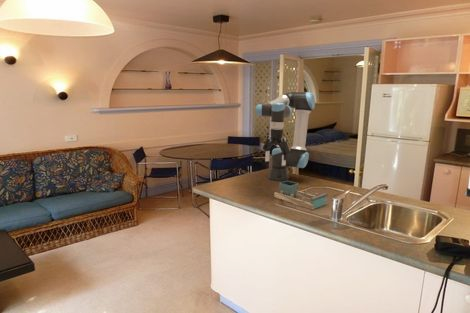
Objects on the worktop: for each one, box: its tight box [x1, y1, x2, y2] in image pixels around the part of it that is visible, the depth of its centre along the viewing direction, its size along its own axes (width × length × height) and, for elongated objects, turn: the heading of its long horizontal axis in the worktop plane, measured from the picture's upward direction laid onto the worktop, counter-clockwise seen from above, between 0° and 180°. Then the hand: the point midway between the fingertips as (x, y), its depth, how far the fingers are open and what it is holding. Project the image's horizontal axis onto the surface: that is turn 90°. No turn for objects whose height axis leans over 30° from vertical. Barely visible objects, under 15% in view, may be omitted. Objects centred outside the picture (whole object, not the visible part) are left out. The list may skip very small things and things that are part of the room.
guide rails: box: [273, 189, 328, 210], centre depth 203 cm, size 15×28×5 cm, turn 43°
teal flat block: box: [309, 192, 329, 210], centre depth 193 cm, size 15×2×6 cm, turn 133°
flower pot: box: [278, 180, 299, 197], centre depth 209 cm, size 9×9×9 cm
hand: (275, 163), depth 205 cm, fingers open, 13 cm apart
